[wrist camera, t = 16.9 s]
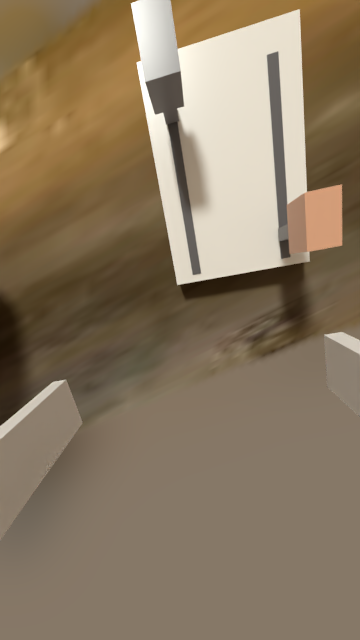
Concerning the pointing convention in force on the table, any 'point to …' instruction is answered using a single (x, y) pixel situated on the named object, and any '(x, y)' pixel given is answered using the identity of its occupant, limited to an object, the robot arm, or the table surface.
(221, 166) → the fader panel
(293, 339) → the table surface
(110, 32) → the table surface
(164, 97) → the fader
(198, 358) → the table surface
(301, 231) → the fader
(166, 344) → the table surface
